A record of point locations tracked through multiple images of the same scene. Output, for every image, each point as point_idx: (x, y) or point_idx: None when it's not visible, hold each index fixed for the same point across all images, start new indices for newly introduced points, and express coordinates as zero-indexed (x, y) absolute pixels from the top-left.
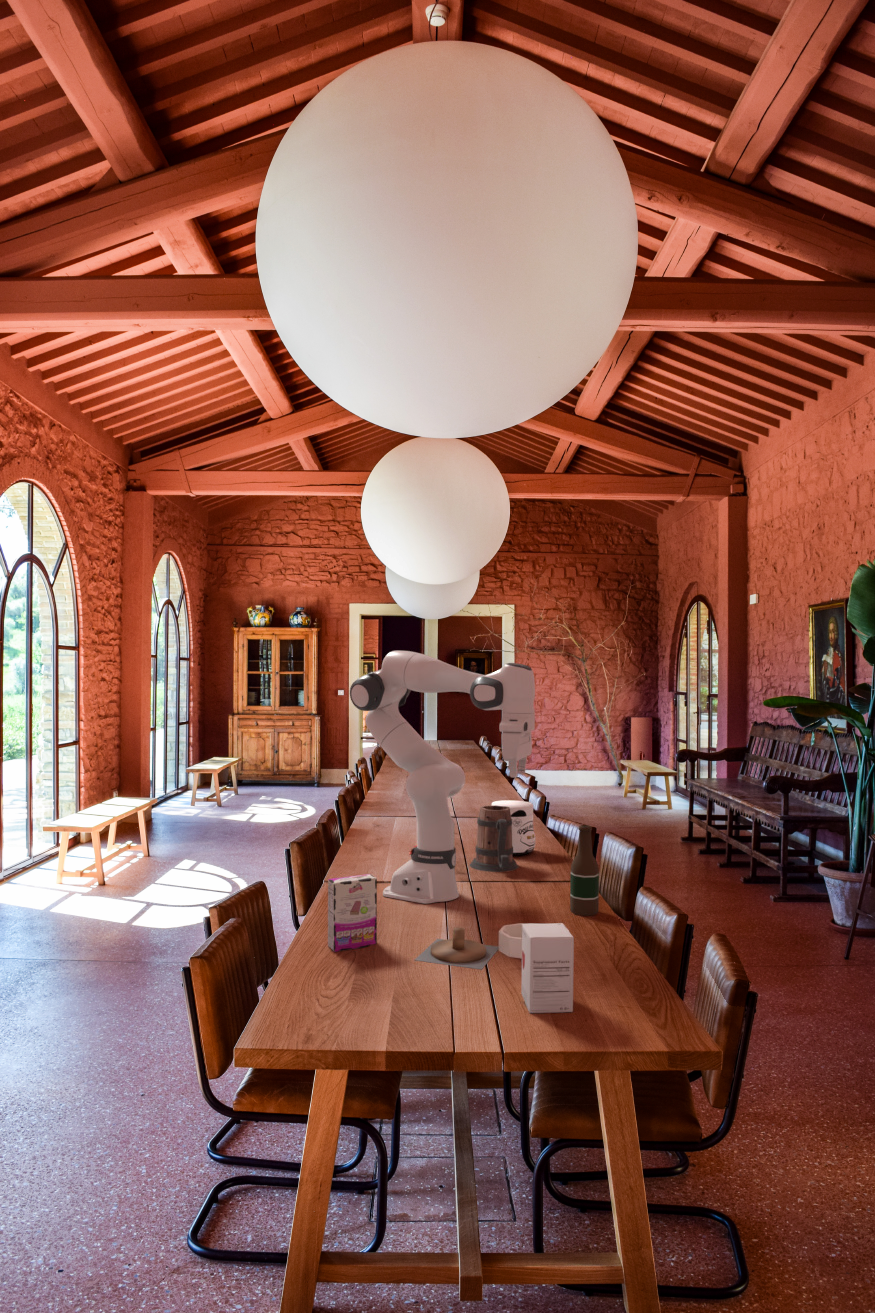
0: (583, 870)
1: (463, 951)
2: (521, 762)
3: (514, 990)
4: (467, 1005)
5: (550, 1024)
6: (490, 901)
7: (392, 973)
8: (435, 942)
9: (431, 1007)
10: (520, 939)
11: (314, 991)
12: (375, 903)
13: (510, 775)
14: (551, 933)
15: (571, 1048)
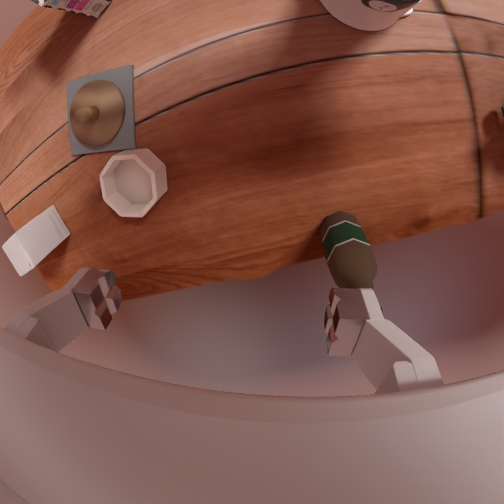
0: (329, 266)
1: (87, 123)
2: (382, 361)
3: (58, 195)
4: (26, 172)
5: None
6: (362, 82)
7: (44, 82)
8: (118, 70)
9: (15, 150)
10: (101, 189)
11: (9, 59)
12: (64, 10)
13: (79, 272)
14: (13, 261)
15: None
